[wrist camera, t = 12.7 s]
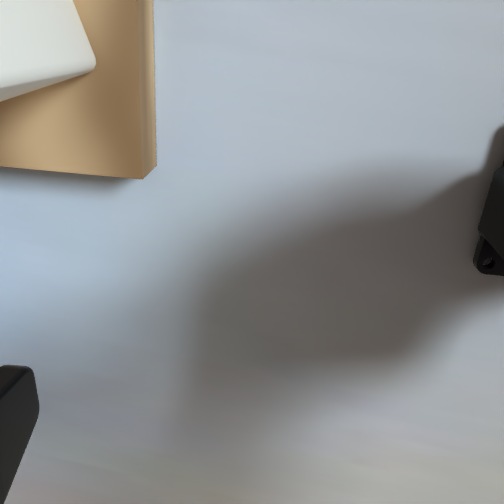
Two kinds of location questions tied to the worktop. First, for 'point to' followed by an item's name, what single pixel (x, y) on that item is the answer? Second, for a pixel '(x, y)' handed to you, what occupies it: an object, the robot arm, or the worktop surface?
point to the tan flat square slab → (92, 102)
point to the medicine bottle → (41, 45)
